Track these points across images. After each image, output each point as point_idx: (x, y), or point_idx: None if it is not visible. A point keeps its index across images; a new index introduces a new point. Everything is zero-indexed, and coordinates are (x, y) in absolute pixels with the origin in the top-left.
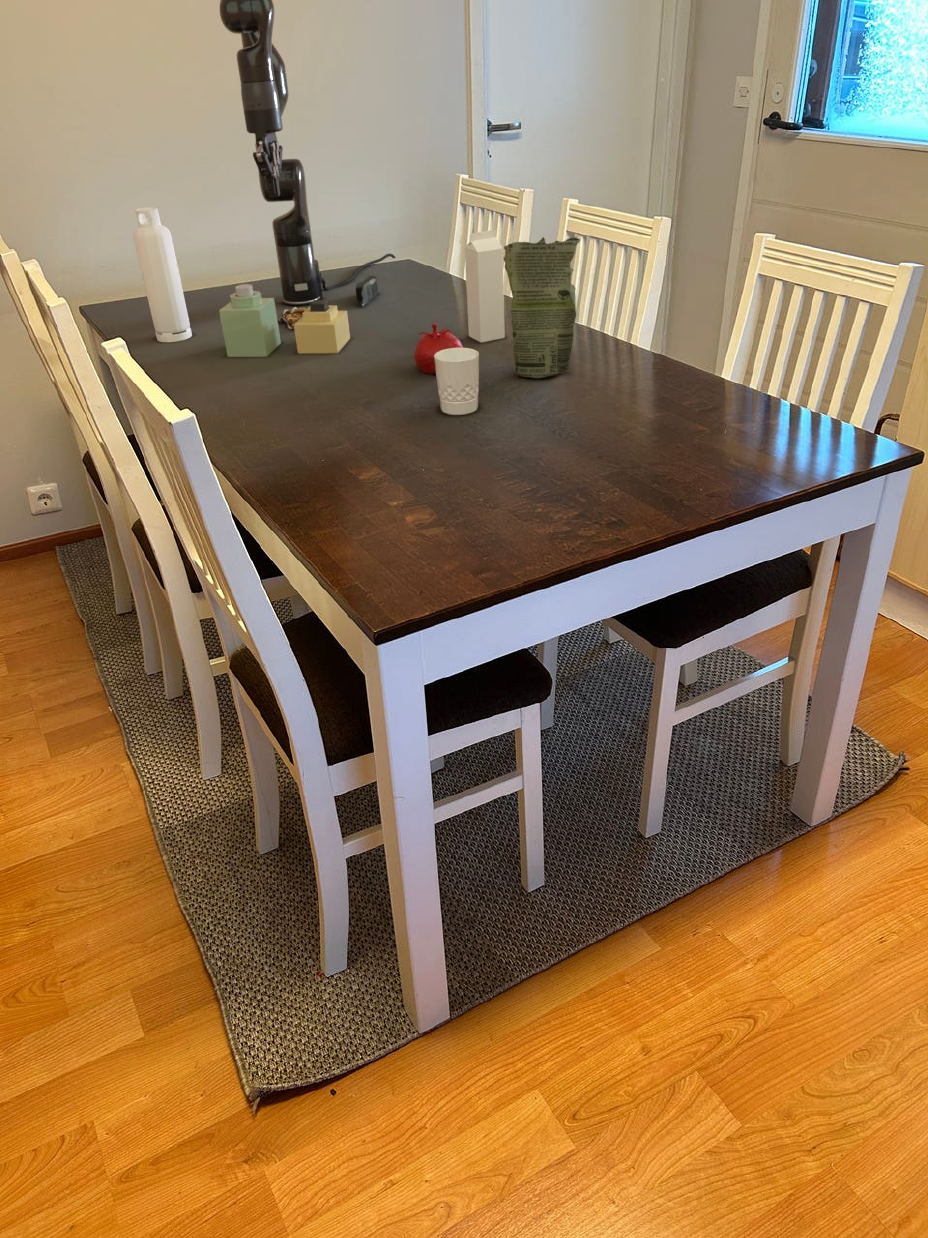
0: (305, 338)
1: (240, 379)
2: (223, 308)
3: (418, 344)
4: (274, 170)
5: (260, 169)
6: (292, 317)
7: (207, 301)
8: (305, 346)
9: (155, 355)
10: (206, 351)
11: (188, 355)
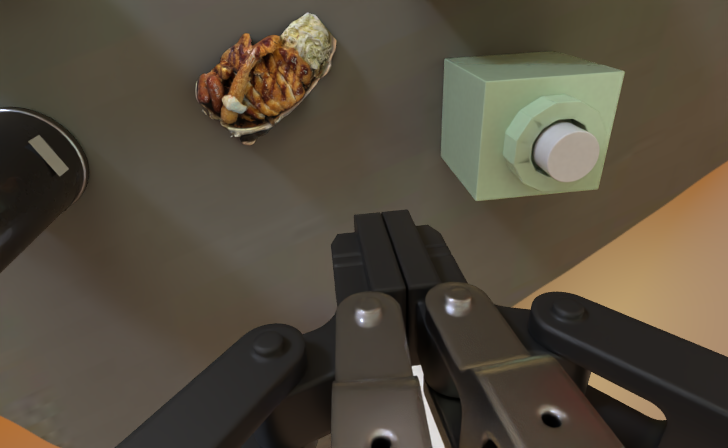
0: None
1: (706, 47)
2: (580, 185)
3: None
4: (491, 330)
5: (649, 417)
6: (280, 92)
7: (112, 378)
8: None
9: (506, 291)
10: (492, 210)
11: (515, 233)
